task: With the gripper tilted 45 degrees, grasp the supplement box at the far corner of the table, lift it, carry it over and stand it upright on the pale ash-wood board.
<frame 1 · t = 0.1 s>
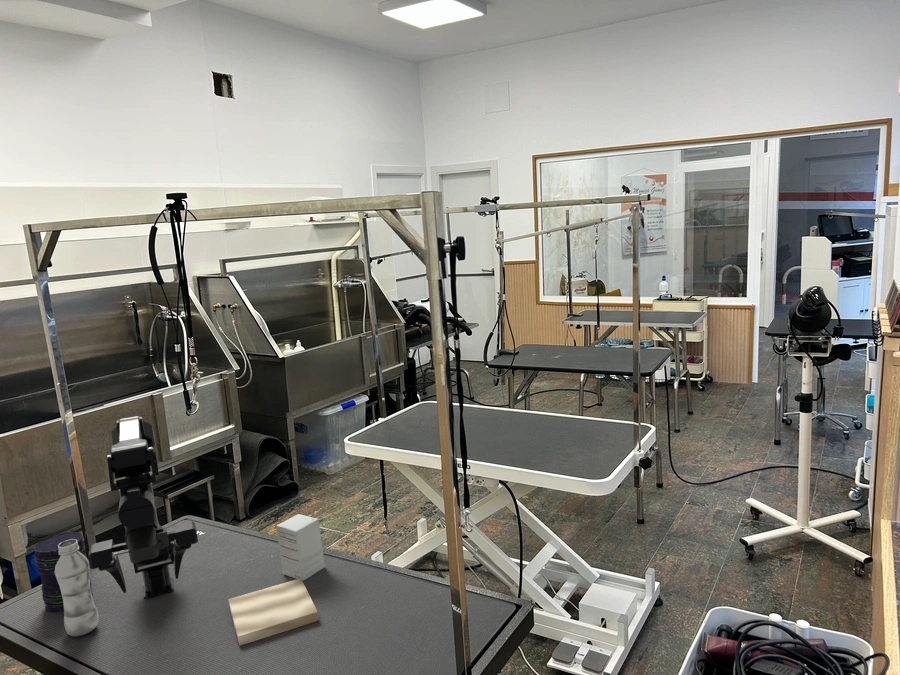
hand: (151, 585, 127), 15 cm above the table, tool pointing down, fingers open, 9 cm apart
storage jar: (69, 602, 153), on the table
supplement box: (303, 571, 158), on the table
plastic bottle: (83, 632, 140), on the table
ash board: (272, 613, 141), on the table
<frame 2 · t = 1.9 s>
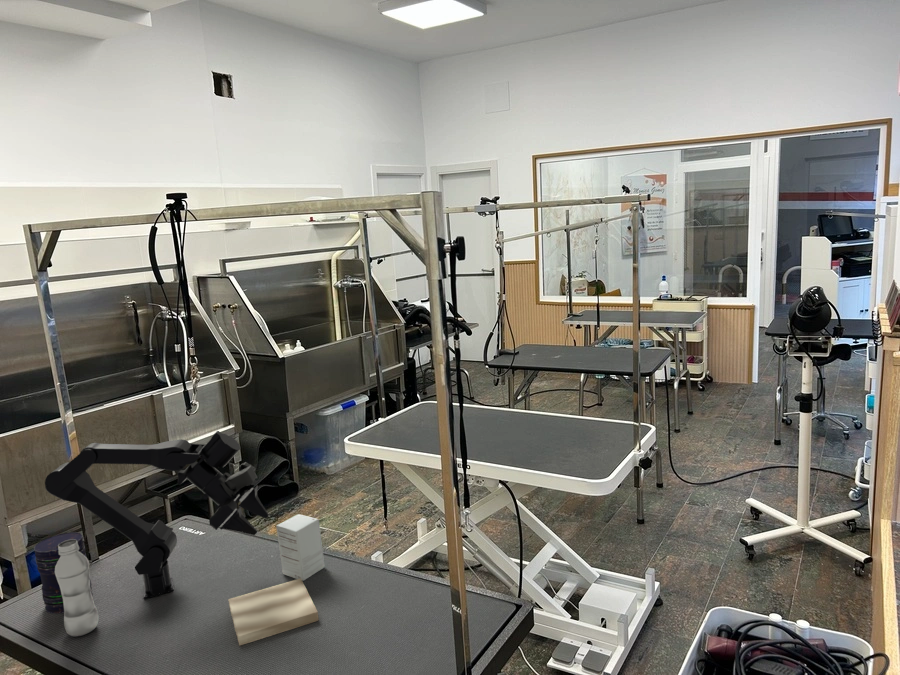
hand: (261, 524, 154), 13 cm above the table, tool tilted 40°, fingers open, 9 cm apart
nothing on the table moved.
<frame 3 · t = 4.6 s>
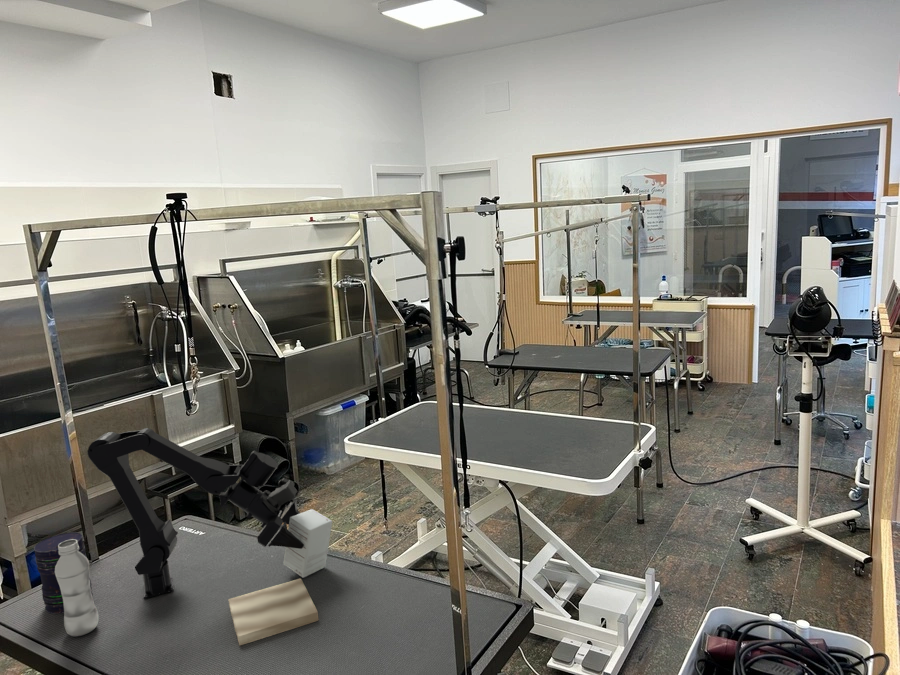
hand: (306, 537, 157), 8 cm above the table, tool tilted 50°, fingers closed on supplement box, 9 cm apart
supplement box: (303, 566, 158), point 1 cm above the table, touching gripper
everything else where it was.
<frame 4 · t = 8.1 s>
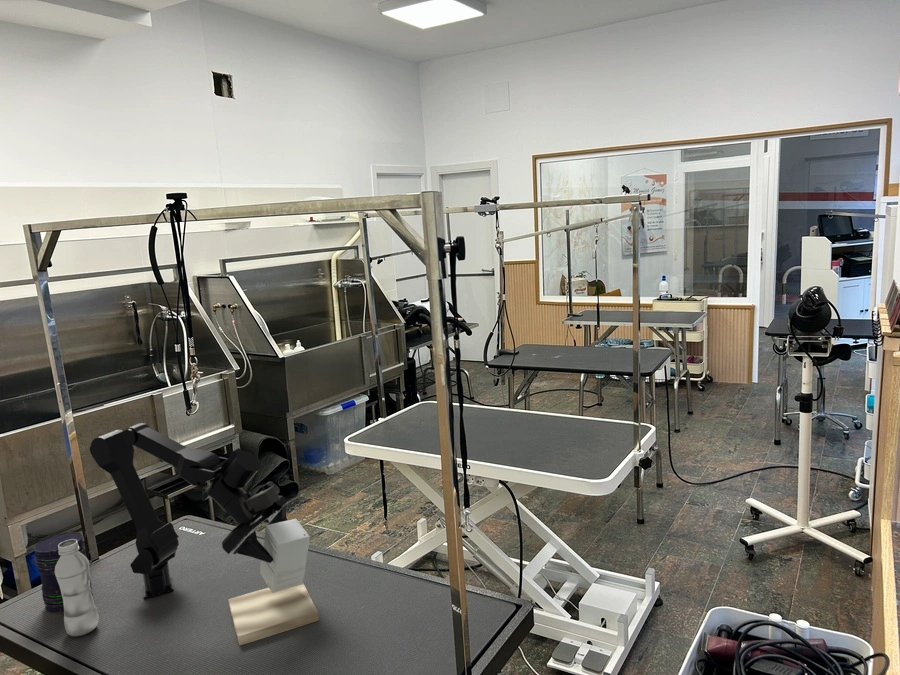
hand: (283, 550, 143), 12 cm above the table, tool tilted 45°, fingers closed on supplement box, 9 cm apart
supplement box: (280, 579, 145), point 5 cm above the table, touching gripper
everything else where it was.
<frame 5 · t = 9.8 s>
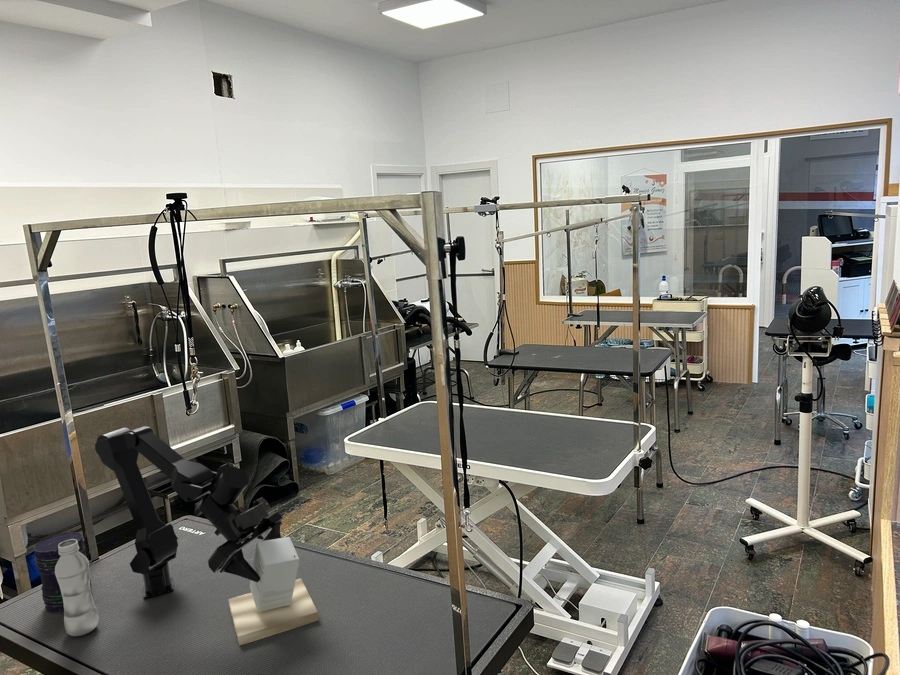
hand: (273, 569, 138), 10 cm above the table, tool tilted 45°, fingers closed on supplement box, 9 cm apart
supplement box: (269, 597, 141), point 4 cm above the table, touching ash board, gripper
everything else where it was.
when the fingers open (10 cm above the table, at t = 11.5 s): supplement box stays where it is, resting on ash board.
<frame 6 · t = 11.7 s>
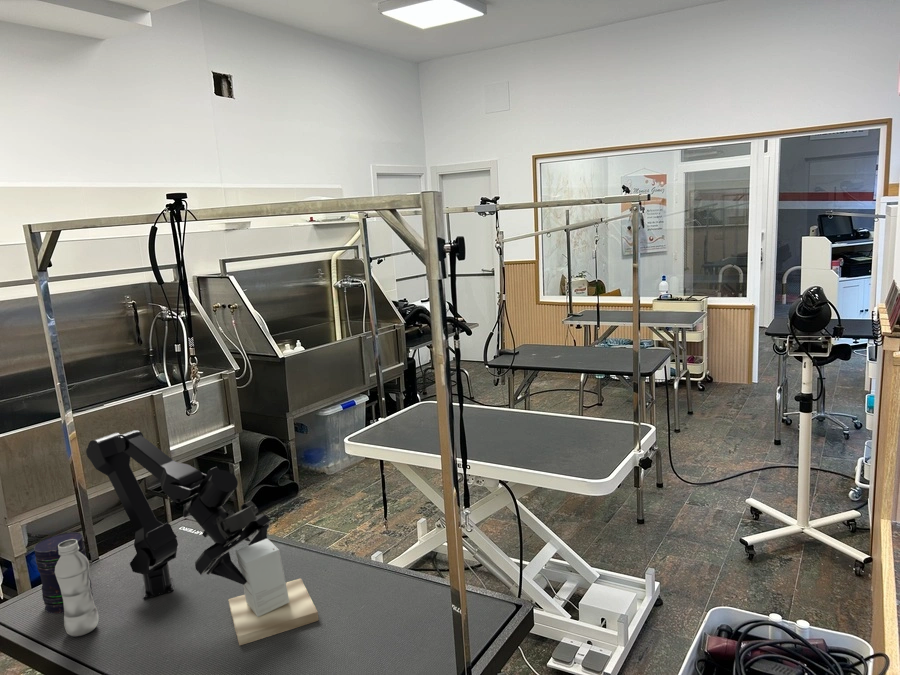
hand: (259, 572, 140), 9 cm above the table, tool tilted 45°, fingers open, 9 cm apart
supplement box: (268, 604, 141), point 2 cm above the table, touching ash board, gripper
everything else where it was.
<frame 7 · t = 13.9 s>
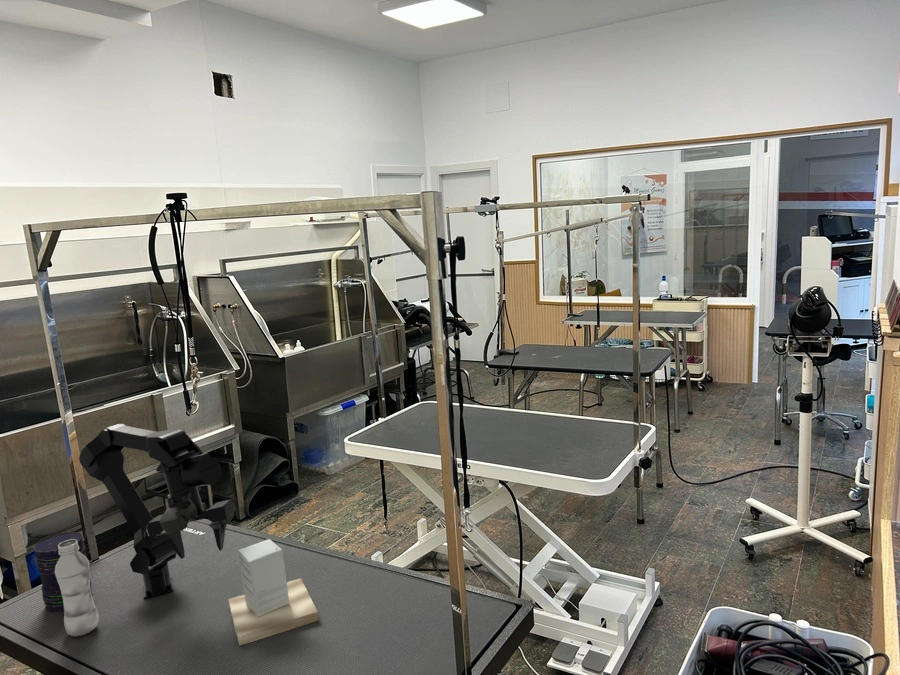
hand: (202, 553, 146), 11 cm above the table, tool pointing down, fingers open, 9 cm apart
supplement box: (267, 605, 141), point 2 cm above the table, touching ash board
everything else where it was.
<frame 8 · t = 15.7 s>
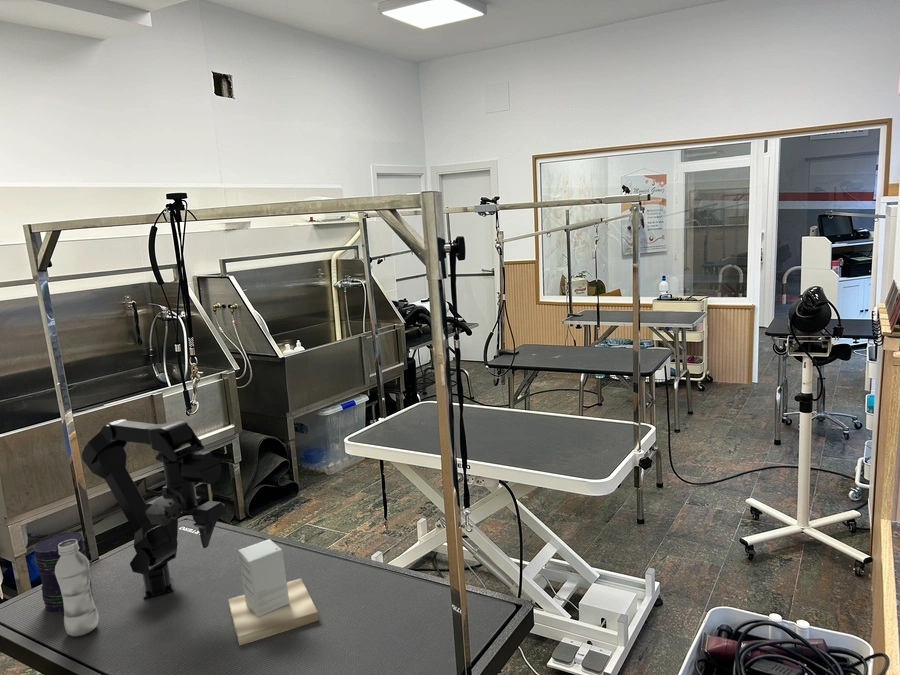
hand: (189, 545, 147), 13 cm above the table, tool pointing down, fingers open, 9 cm apart
nothing on the table moved.
at the end: supplement box inside the target area on the ash board (1.2 cm from its centre), point 1.8 cm above the ash board's base; supplement box tilted 0°; the gripper is holding nothing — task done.
